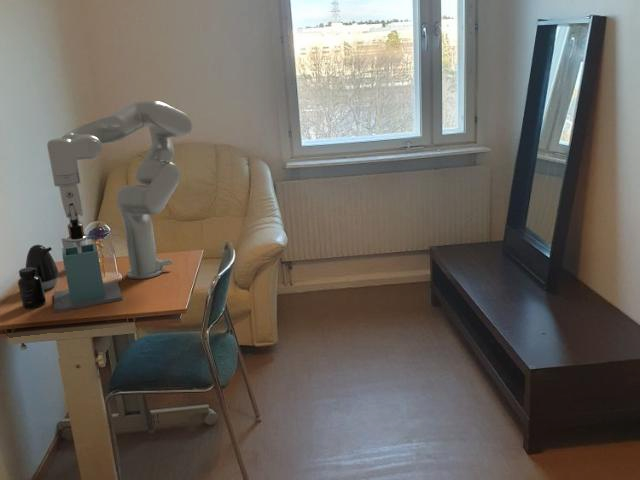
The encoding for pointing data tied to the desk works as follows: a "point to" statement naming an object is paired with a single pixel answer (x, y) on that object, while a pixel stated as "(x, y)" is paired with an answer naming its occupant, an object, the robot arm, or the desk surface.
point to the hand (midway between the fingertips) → (77, 236)
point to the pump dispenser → (43, 265)
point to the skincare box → (69, 243)
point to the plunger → (69, 239)
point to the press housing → (84, 281)
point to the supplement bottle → (31, 288)
